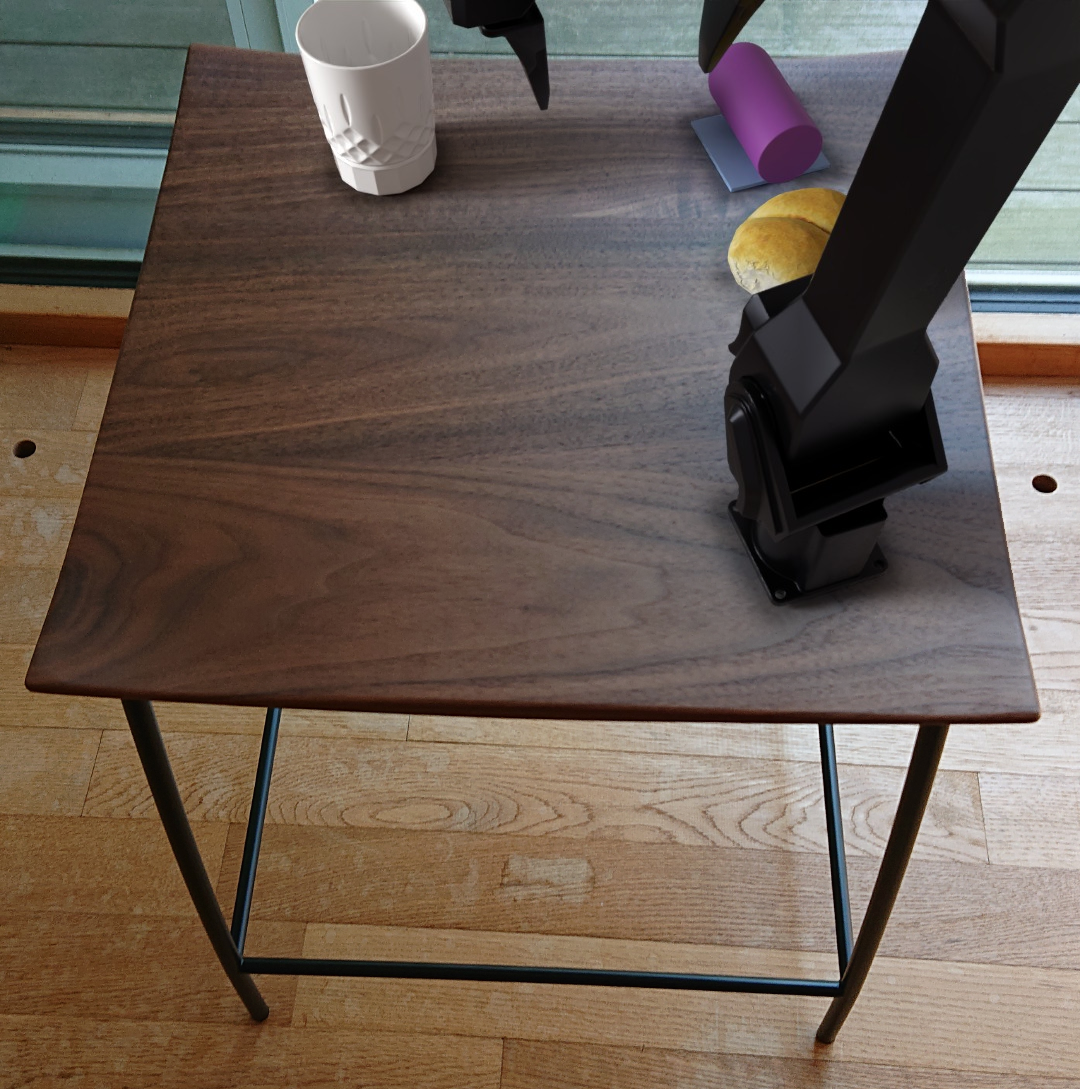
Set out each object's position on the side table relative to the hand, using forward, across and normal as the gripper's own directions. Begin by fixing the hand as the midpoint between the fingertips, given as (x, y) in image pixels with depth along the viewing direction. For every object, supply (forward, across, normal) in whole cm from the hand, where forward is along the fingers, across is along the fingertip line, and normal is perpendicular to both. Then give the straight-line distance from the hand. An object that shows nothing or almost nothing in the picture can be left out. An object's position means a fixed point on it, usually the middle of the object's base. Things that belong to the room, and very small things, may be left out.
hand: (623, 86), depth 58 cm
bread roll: (+12, -10, +5) cm, 17 cm away
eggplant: (+9, -12, -2) cm, 15 cm away
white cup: (+12, +12, -13) cm, 21 cm away
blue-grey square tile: (+12, -12, -6) cm, 18 cm away
